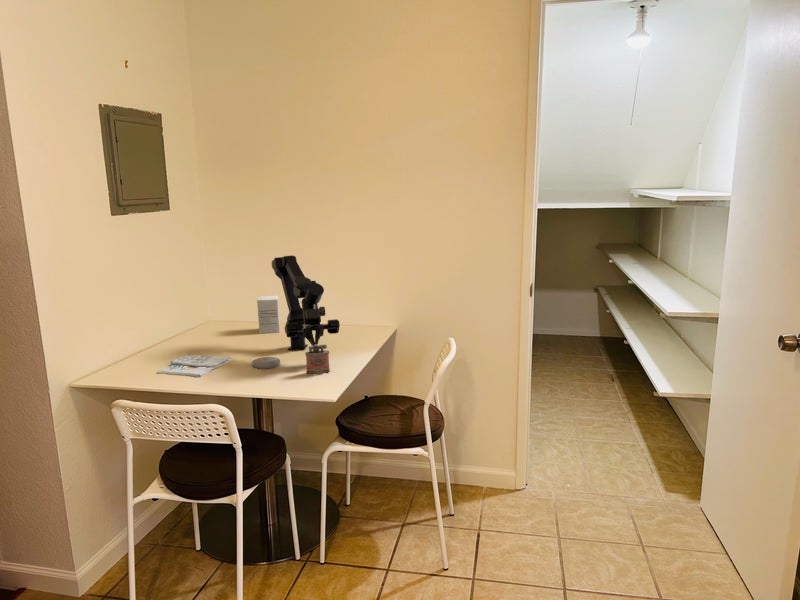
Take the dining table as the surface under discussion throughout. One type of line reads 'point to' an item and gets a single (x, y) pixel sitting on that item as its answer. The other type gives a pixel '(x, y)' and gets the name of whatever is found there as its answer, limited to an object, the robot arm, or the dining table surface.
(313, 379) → the dining table surface
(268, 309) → the supplement box
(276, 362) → the grey smooth stone
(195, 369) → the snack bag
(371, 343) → the dining table surface
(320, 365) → the lighter
